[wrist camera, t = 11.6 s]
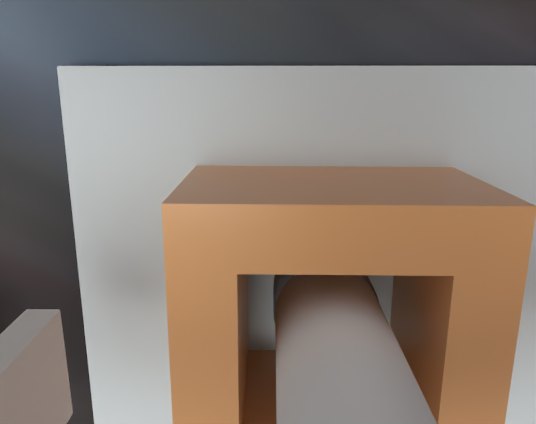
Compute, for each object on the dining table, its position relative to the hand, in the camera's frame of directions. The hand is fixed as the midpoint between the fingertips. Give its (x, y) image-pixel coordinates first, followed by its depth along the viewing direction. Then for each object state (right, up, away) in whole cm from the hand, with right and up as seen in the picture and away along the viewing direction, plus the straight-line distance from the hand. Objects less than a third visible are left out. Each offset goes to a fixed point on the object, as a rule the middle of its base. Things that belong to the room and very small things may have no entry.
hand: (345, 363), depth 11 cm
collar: (0, +1, +5) cm, 5 cm away
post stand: (0, +1, +6) cm, 6 cm away
